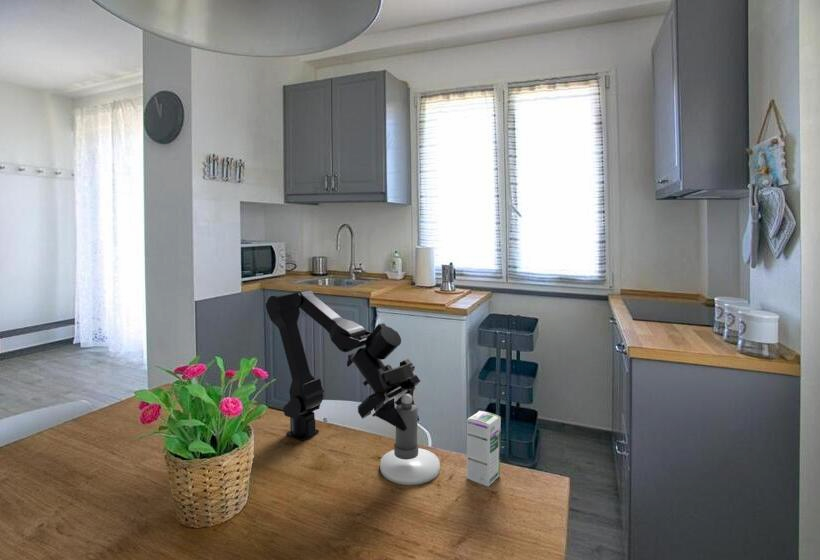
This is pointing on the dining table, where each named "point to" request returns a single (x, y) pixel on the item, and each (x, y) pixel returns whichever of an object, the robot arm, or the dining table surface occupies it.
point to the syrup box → (483, 447)
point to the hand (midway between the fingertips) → (411, 425)
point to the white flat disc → (410, 468)
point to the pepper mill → (407, 430)
